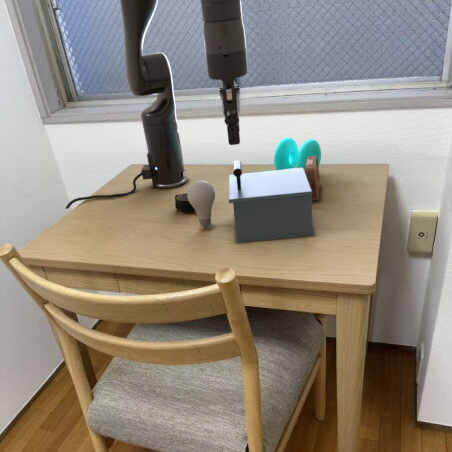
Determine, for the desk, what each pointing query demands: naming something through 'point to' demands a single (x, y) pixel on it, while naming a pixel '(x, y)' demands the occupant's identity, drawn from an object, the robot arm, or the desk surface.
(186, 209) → the tape measure
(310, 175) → the tin
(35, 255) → the desk surface
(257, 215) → the compartment
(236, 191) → the lid
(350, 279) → the desk surface
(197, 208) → the lightbulb
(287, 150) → the turquoise spool
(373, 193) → the desk surface
